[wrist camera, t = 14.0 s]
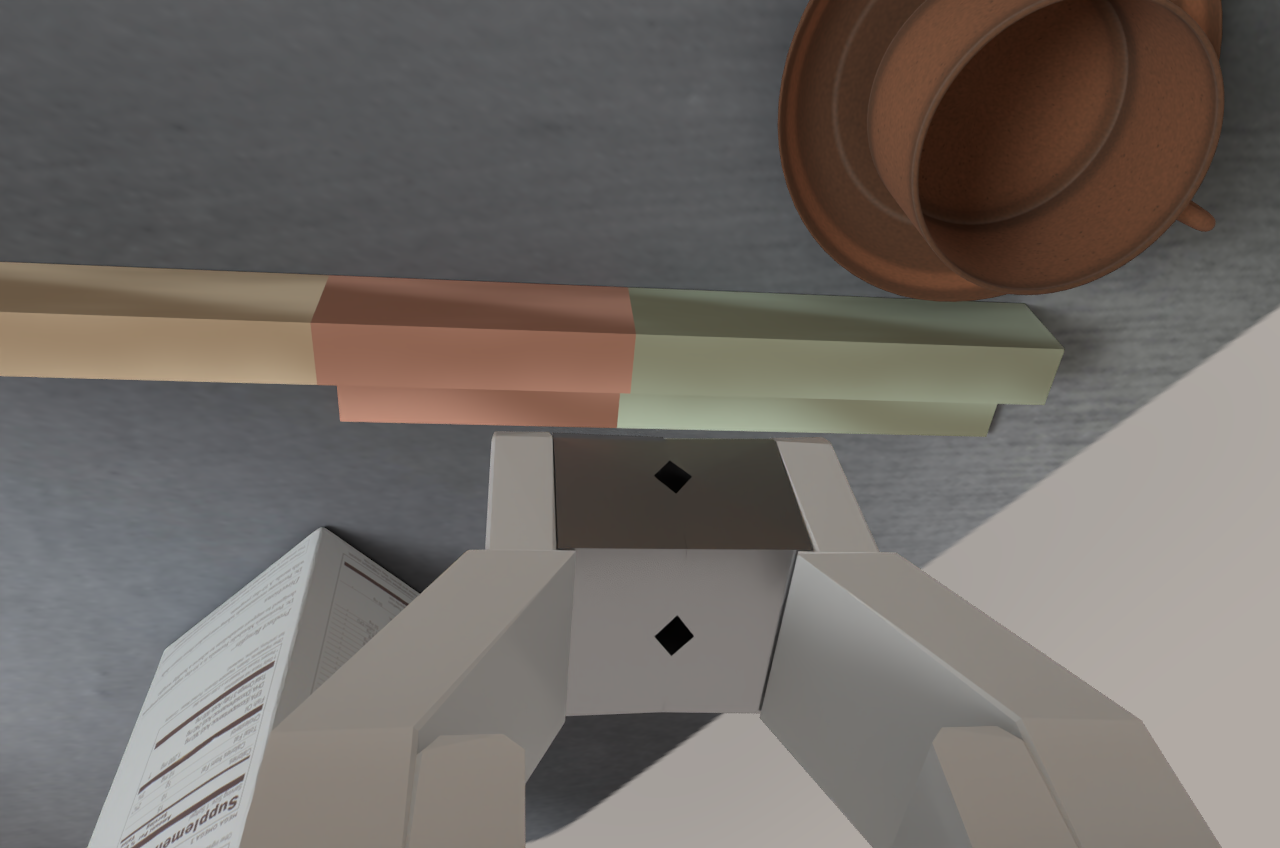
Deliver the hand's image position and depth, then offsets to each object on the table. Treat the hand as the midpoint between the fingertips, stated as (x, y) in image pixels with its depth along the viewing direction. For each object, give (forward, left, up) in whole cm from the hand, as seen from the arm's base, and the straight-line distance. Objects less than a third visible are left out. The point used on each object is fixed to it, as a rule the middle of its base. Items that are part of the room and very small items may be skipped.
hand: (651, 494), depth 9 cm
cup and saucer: (-1, -11, -21) cm, 24 cm away
